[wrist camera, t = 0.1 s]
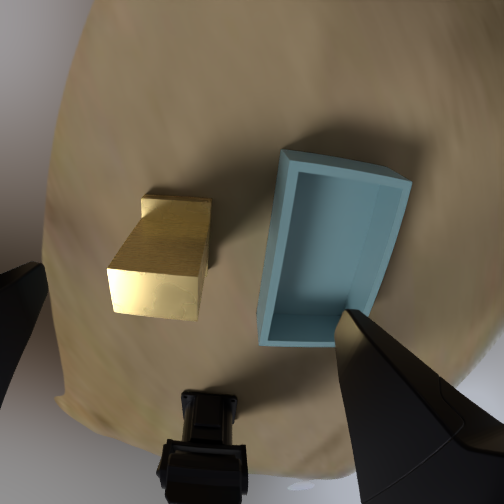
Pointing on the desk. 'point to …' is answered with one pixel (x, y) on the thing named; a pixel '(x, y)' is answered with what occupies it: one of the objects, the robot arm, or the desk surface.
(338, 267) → the blue rectangular open bin
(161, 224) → the brass bracket
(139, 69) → the desk surface
